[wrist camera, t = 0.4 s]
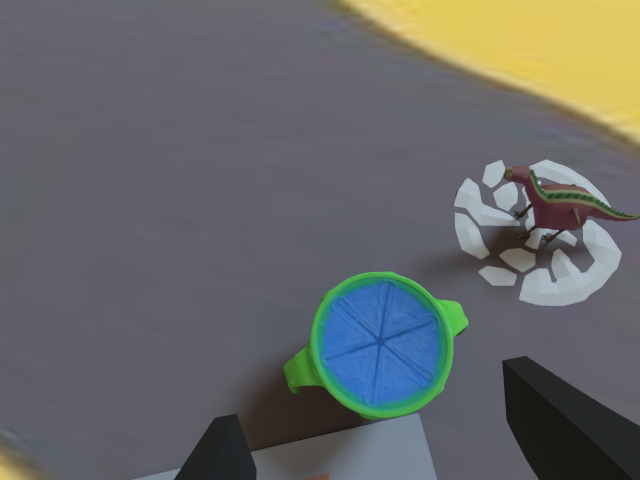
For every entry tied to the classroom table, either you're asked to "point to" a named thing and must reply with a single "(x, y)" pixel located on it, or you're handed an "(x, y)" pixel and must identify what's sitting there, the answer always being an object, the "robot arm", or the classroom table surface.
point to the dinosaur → (542, 230)
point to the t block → (319, 477)
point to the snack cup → (379, 345)
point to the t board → (347, 455)
